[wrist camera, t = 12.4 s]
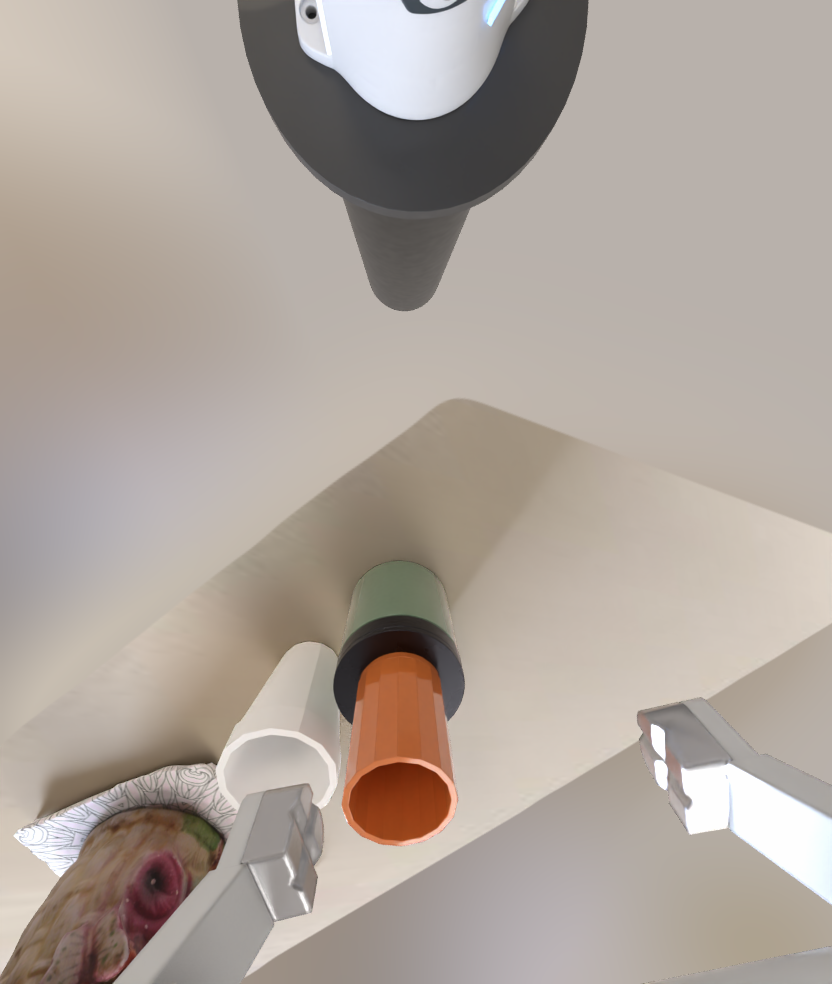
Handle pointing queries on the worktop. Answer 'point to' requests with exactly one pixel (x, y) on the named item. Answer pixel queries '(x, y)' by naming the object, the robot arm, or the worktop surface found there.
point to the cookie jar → (119, 872)
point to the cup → (399, 754)
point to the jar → (399, 597)
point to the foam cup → (287, 731)
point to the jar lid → (397, 638)
